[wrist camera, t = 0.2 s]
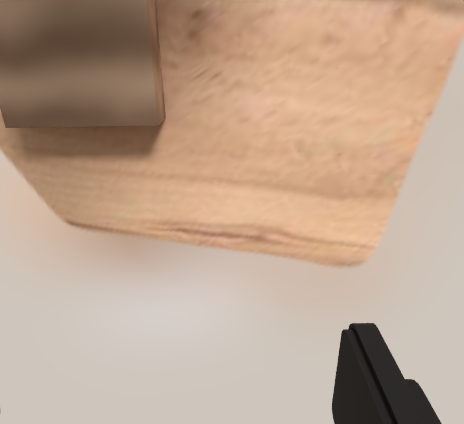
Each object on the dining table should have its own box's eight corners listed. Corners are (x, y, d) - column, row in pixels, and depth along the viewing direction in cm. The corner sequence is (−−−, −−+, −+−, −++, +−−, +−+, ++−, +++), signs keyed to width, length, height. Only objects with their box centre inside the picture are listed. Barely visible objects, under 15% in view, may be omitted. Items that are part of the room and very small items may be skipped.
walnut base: (-11, -45, 31) (-43, -58, 28) (151, -48, 31) (140, -61, 28) (28, 120, 37) (5, 127, 33) (165, 118, 37) (158, 125, 33)
